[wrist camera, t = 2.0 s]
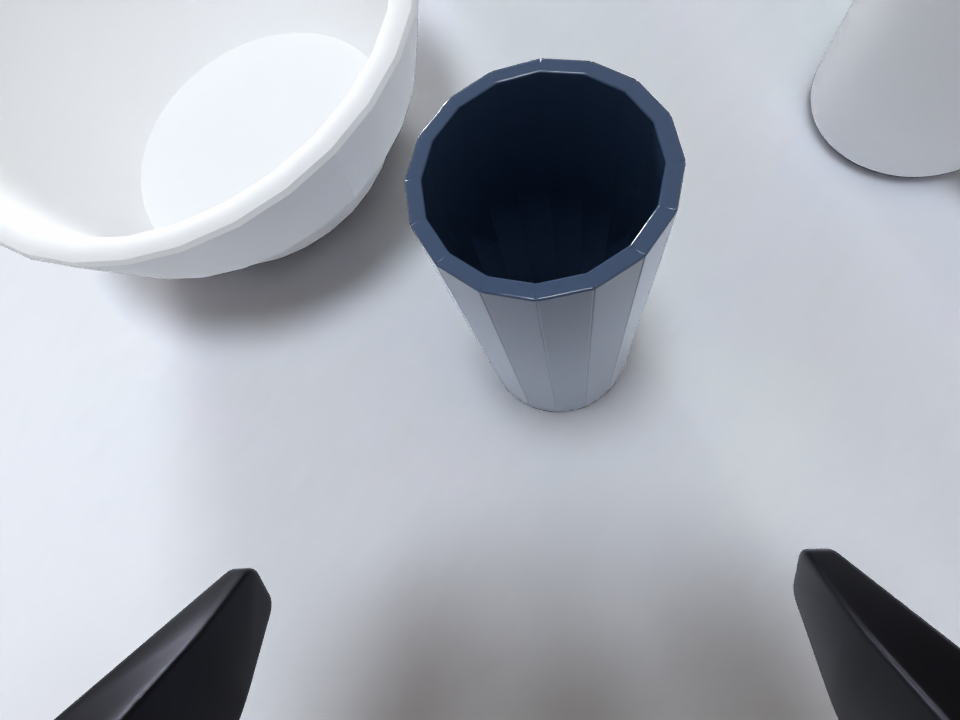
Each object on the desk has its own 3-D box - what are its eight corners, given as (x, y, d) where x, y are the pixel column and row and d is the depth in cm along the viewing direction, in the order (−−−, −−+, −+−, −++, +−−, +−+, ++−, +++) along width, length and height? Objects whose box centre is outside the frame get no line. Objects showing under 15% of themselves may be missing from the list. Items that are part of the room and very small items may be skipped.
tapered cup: (654, 364, 23) (747, 191, 10) (538, 438, 23) (493, 353, 10) (575, 262, 25) (575, 15, 12) (469, 330, 25) (362, 152, 12)
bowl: (284, -52, 34) (197, -221, 26) (548, 101, 27) (537, -66, 19) (33, 192, 32) (-144, 88, 24) (250, 426, 25) (101, 387, 17)
